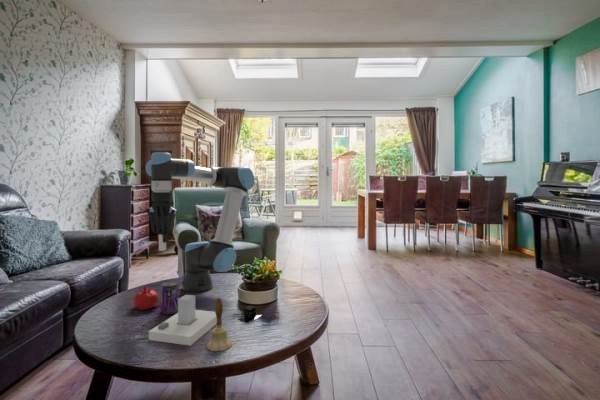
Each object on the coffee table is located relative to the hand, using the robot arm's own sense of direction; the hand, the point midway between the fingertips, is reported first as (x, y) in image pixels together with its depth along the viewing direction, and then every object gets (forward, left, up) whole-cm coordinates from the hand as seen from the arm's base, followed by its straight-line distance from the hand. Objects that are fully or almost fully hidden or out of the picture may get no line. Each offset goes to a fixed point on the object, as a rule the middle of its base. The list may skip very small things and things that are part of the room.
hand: (162, 250), depth 142 cm
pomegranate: (-5, -12, -27) cm, 30 cm away
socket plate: (+10, +17, -26) cm, 33 cm away
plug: (+10, +17, -26) cm, 33 cm away
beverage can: (-3, +1, -27) cm, 27 cm away
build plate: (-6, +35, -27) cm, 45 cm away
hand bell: (+18, +34, -27) cm, 47 cm away
